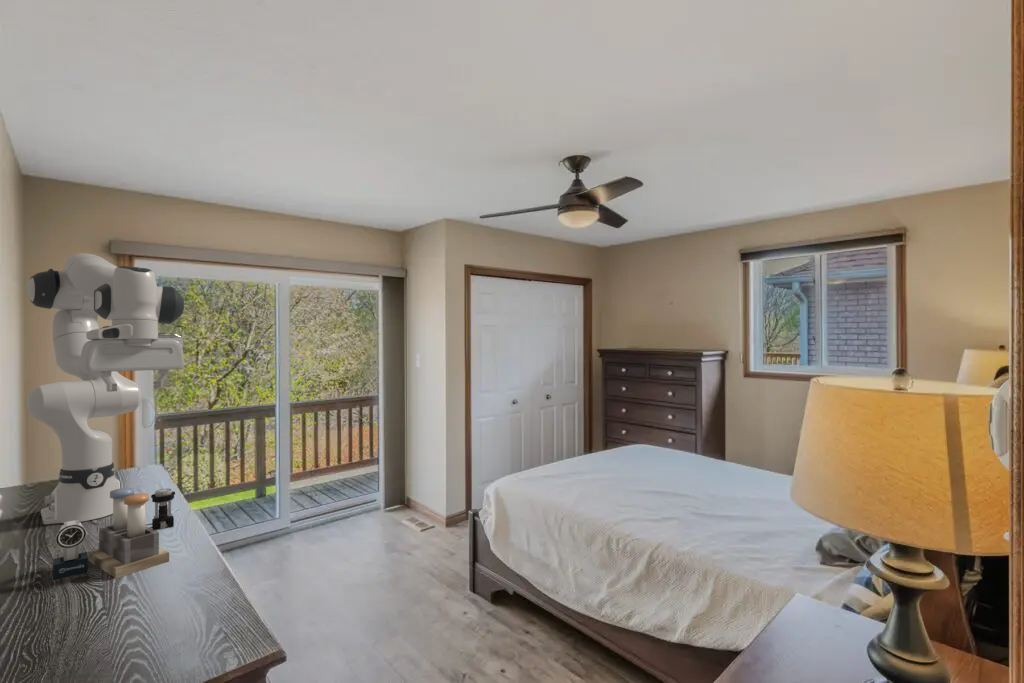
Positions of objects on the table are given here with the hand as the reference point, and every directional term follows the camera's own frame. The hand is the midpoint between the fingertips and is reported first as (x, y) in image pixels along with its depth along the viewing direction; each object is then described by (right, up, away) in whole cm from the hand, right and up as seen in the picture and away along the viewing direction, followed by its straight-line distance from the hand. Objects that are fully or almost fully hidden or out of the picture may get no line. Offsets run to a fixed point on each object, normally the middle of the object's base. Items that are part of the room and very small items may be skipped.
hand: (135, 389), depth 118 cm
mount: (+3, -39, -6) cm, 39 cm away
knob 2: (+6, -32, -8) cm, 34 cm away
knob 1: (-1, -32, -4) cm, 33 cm away
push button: (-5, -39, +14) cm, 42 cm away
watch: (-5, -39, -12) cm, 41 cm away
